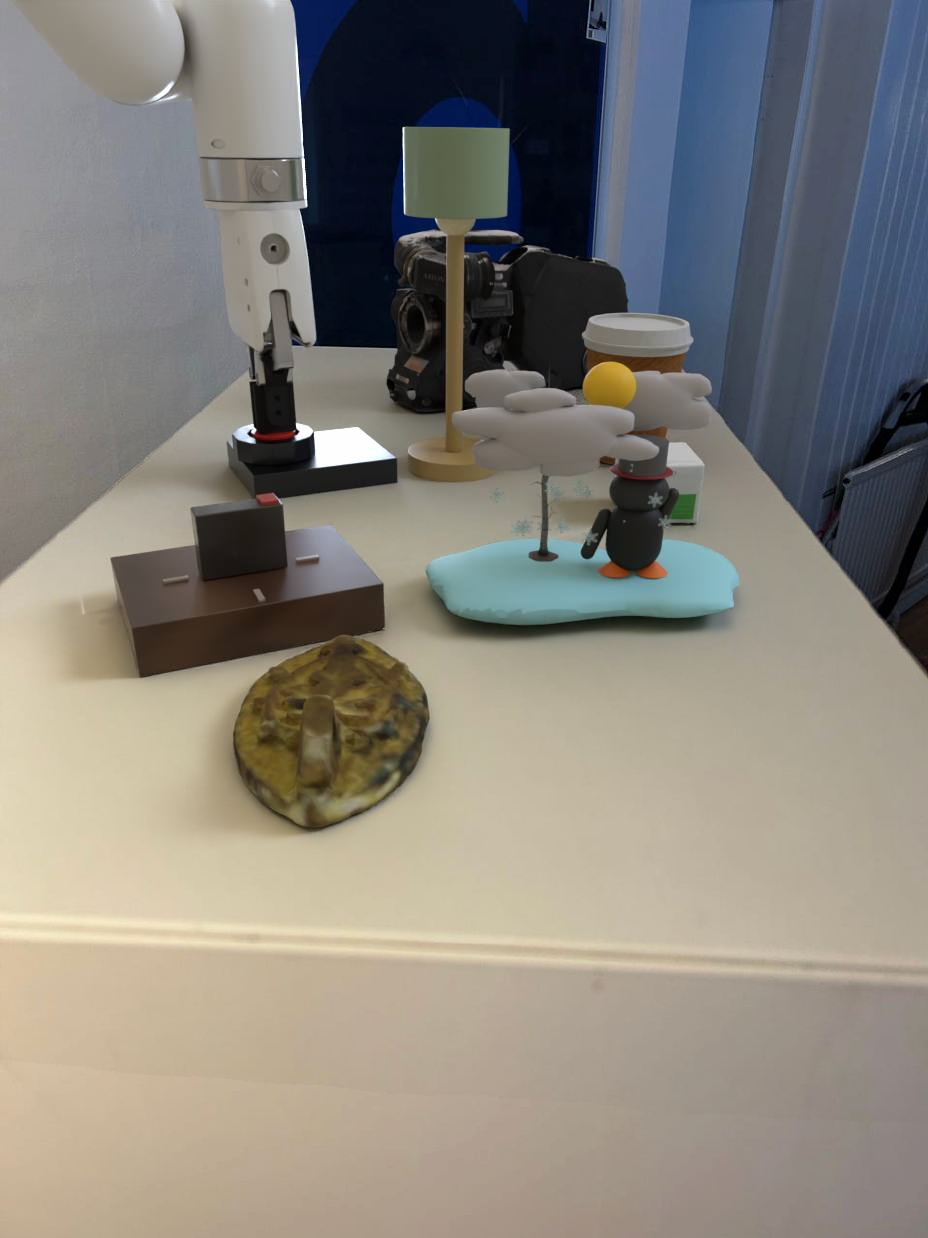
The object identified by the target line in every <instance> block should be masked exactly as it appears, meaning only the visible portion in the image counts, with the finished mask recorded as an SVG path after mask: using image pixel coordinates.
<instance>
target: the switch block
mask: <svg viewBox="0 0 928 1238" xmlns="http://www.w3.org/2000/svg"><path fill="white" fill-rule="evenodd" d="M253 429H254V426H253V423H251V424H248V425H245V426H241V427H238V428H237V429H236V430H235V431H233V432H232V434H231V440H228V441H226V450H227V459H228V466H229V468H230V469H231V471H233V473H234V474H235V475H236V477H237V478H238V479H239V481H240V482H241V483H242V485H243V486H244V487H245V489H246V490H247V492H248V493H249V494H250V496H251V497H252V499H257V496H256V495H261V494H269V493H274V495H275V496H276V497H277V498H278V499H279V500H280V499H286V498H287V499H288V498H295V497H302V496H310V495H317V494H324V493H325V494H326V493H332V492H339V491H346V490H347V491H348V490H353V489H361V488H370V487H376V486H383V485H392V484H397V483H398V458H397V457H396V456H395V455H393V454H392V453H391V452H390V451H389V450H387V449H386V448H384V446H382V445H381V444H380V443H378V442H377V441H376V440H375V439H373V438H372V437H371V435H369V434H367V433H366V432H365V431H364V430H362V429H361V428H360V427H358V426H356V427H346V428H337V429H329V430H319V431H315V430H314V429H312V428H311V427H310V425H307V424H301V423H297V422H296V429H295V434H296V436H294V437H291V438H287V439H279V440H259V439H255V438H251V431H252V430H253Z"/></svg>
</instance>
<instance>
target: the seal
mask: <svg viewBox="0 0 928 1238" xmlns="http://www.w3.org/2000/svg"><path fill="white" fill-rule="evenodd" d="M236 717H237V718H236V719H235V721H234V727H233V731H232V745H233V747H232V748H233V753H234V757H235V761H236V765H237V767H238V771H239V775H240V777H241V779H242V781H243V783H244V784H245V785H246V786H247V788H248V789H249V790H250V791H251V792H252V793H254V794H255V796H256V798H257V799H258V800H260V801H261V802H262V803H263V804H264V805H265V806H266V807H267V808H269V809H271V810H273V811H274V812H276V813H277V814H280V815H282V816H283V817H286V818H287V819H289V820H291V821H292V822H294V823H295V824H297V825H299V826H301V827H308V828H322V827H326V826H329V825H332V824H337V823H340V822H341V821H344V820H346V819H348V818H350V817H351V816H353V815H356V814H359V813H363V812H365V811H366V810H368V809H370V808H372V807H374V806H376V805H377V804H378V803H380V802H381V801H384V800H385V799H386V798H387V797H389V796H390V795H391V794H392V793H393V792H394V791H396V789H398V788H399V787H401V786H402V784H403V783H404V782H405V781H407V778H408V777H409V776H410V775H411V774H412V772H413V771H414V770H415V768H416V766H417V765H418V762H419V760H420V757H421V755H422V751H423V742H424V739H425V735H426V730H427V726H428V724H429V722H430V718H431V717H430V711H429V701H428V695H427V692H426V689H425V688H424V686H423V684H422V683H421V681H420V680H419V679H418V678H417V677H416V675H415V674H414V673H413V672H411V671H410V670H409V666H408V665H407V664H406V663H405V662H403V661H400V660H399V659H397V658H396V657H394V656H392V655H391V654H389V653H388V652H386V651H385V650H384V649H382V648H381V647H379V646H378V645H377V644H376V643H374V642H370V641H368V640H366V639H363V638H360V637H356V636H354V635H351V636H350V635H340V636H338V637H336V638H334V639H331V640H327V641H325V643H322V644H321V645H318V646H316V647H313V648H311V649H309V650H306V651H304V652H303V653H299V654H295V655H294V656H293V657H290V658H287V659H285V660H283V661H281V662H280V663H278V664H276V666H272V667H270V668H269V669H268V671H267V672H265V673H264V674H262V675H261V676H260V677H259V678H258V679H257V680H255V681H254V682H253V684H252V685H251V686H250V688H249V690H248V693H247V694H246V695H245V697H244V698H243V701H242V703H241V704H240V709H239V712H238V715H237V716H236ZM409 774H410V775H409ZM408 775H409V776H408ZM407 776H408V777H407Z"/></svg>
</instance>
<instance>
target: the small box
mask: <svg viewBox="0 0 928 1238" xmlns="http://www.w3.org/2000/svg"><path fill="white" fill-rule="evenodd" d="M618 462H619V459H615V464H618ZM666 467H669V468H670V469H672V470H673V474H672V475H671V476H669V477H667V478H665V479H666V481H667V483H668V485H669V489H670V488H675V489H677V490H678V492H679V499H678V501H677V503H676V505H675V507H674V509H673V510H672V512H671V514H670V516H669V518H668V519H669V520H670V522H669V520H667V521H668V522H667V523H668V524H690V523H695V524H697V523H698V520H699V512H700V506H701V505H700V503H701V497H702V490H703V483H704V475H705V468H706V464H705V463H704V462H703V461H702V459H701V458H700V457H699V456H698V455H697V454H696V453H695V452H694V451H693V450H692V448H691V447H690V446H689V445H688V443H687V442H684V441H683V442H682V441H681V442H680V441H679V442H677V441H676V442H674V441H673V442H672V441H671V442H669V447H668V456H667V464H666ZM615 476H616V475H615V474H613V478H614V477H615ZM671 520H672V521H671Z"/></svg>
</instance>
